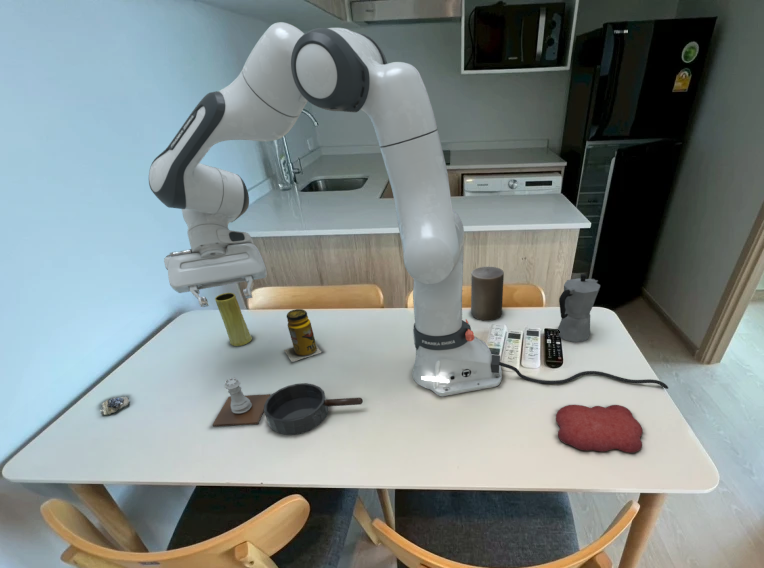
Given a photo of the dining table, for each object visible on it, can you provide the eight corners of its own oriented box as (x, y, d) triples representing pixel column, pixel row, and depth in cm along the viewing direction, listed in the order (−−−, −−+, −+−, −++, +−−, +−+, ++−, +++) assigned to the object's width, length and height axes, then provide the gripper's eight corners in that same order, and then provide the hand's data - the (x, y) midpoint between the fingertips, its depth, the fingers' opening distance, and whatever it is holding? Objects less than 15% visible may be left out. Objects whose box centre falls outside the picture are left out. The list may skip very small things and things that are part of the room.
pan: (332, 394, 99) (329, 381, 97) (322, 433, 89) (318, 419, 86) (277, 398, 99) (273, 384, 97) (261, 436, 88) (255, 423, 86)
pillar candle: (505, 319, 127) (508, 272, 118) (474, 322, 126) (475, 275, 117) (497, 305, 134) (499, 260, 126) (467, 308, 134) (468, 263, 125)
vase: (225, 345, 120) (208, 300, 112) (238, 334, 125) (222, 291, 117) (244, 347, 119) (227, 302, 110) (256, 336, 124) (241, 292, 115)
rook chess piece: (244, 400, 98) (233, 373, 93) (256, 406, 96) (246, 378, 91) (227, 411, 95) (215, 383, 90) (240, 417, 93) (228, 389, 88)
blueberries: (107, 419, 95) (103, 413, 94) (90, 408, 98) (86, 402, 97) (137, 403, 100) (133, 397, 98) (120, 393, 103) (116, 387, 102)
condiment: (322, 352, 115) (312, 314, 108) (292, 362, 111) (280, 323, 104) (313, 341, 120) (303, 304, 113) (284, 351, 116) (272, 313, 109)
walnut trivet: (270, 396, 100) (270, 394, 100) (258, 424, 92) (257, 422, 91) (229, 398, 100) (228, 396, 99) (213, 426, 92) (212, 424, 91)
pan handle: (363, 401, 93) (362, 395, 92) (363, 405, 92) (362, 400, 91) (324, 403, 93) (323, 398, 92) (323, 408, 92) (322, 402, 91)
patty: (630, 408, 91) (632, 401, 90) (652, 454, 80) (655, 447, 79) (550, 406, 93) (551, 399, 92) (561, 452, 82) (562, 444, 81)
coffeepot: (573, 320, 124) (583, 263, 114) (601, 332, 118) (614, 272, 108) (540, 338, 117) (547, 278, 106) (567, 352, 111) (578, 289, 100)
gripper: (156, 247, 89) (170, 306, 87) (255, 232, 95) (271, 287, 93) (167, 260, 95) (181, 316, 93) (260, 245, 101) (274, 297, 99)
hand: (226, 301), depth 93 cm, fingers open, 8 cm apart
